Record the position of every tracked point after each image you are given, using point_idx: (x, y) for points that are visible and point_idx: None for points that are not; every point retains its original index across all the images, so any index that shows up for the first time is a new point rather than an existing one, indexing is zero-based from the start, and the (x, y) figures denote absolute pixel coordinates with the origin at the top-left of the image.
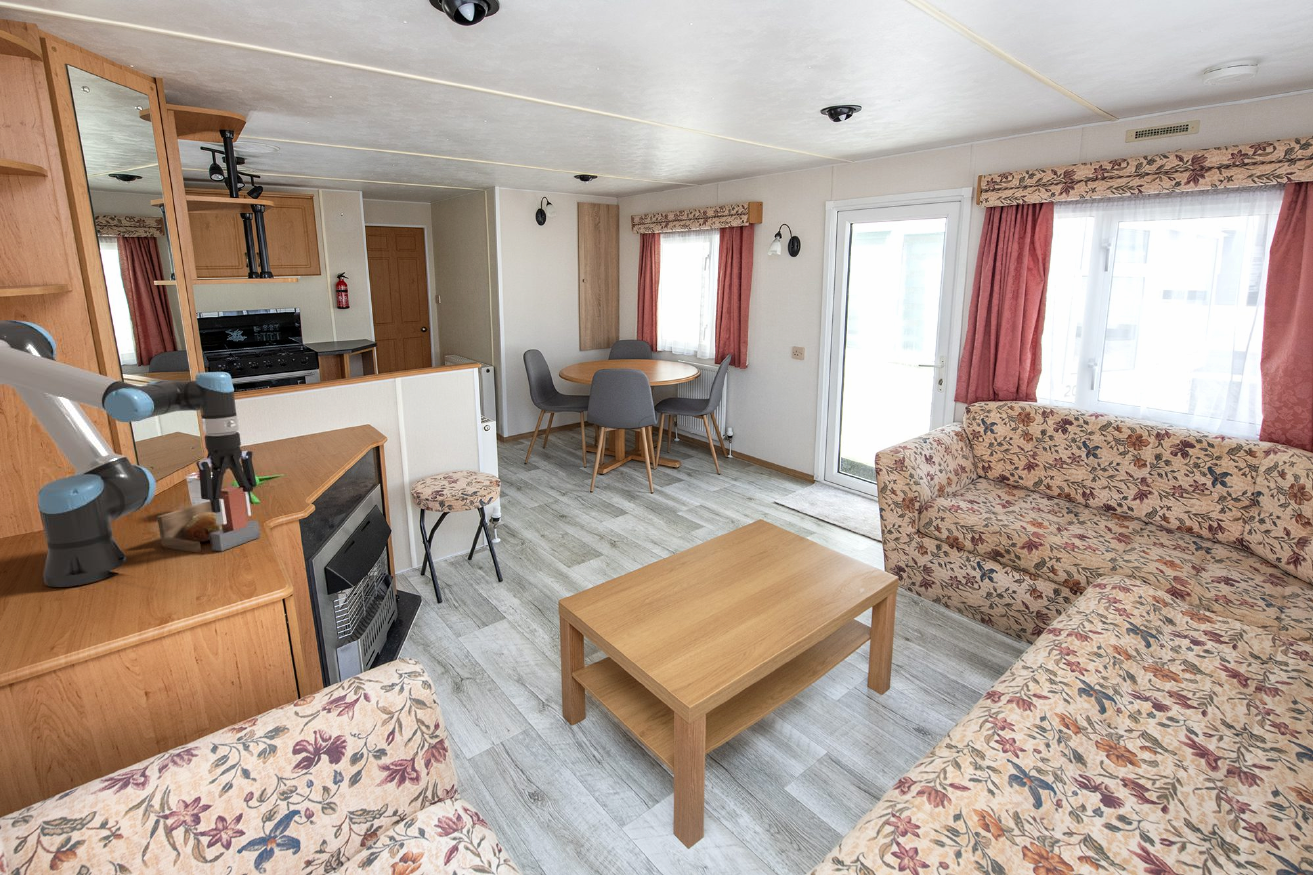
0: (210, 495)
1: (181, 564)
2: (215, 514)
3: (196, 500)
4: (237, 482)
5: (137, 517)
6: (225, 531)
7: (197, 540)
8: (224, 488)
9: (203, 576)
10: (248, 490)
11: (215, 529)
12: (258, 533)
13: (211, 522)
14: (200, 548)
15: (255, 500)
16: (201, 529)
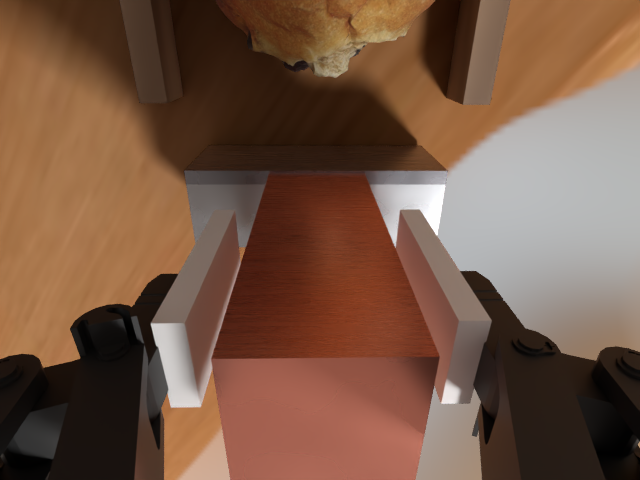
0: (34, 477)
1: (46, 176)
2: (199, 243)
3: None
4: (511, 430)
5: None
6: (249, 225)
7: None
8: (314, 376)
9: (50, 348)
10: (476, 421)
11: (296, 61)
12: None
13: (296, 24)
14: (177, 97)
15: None
16: (228, 4)
